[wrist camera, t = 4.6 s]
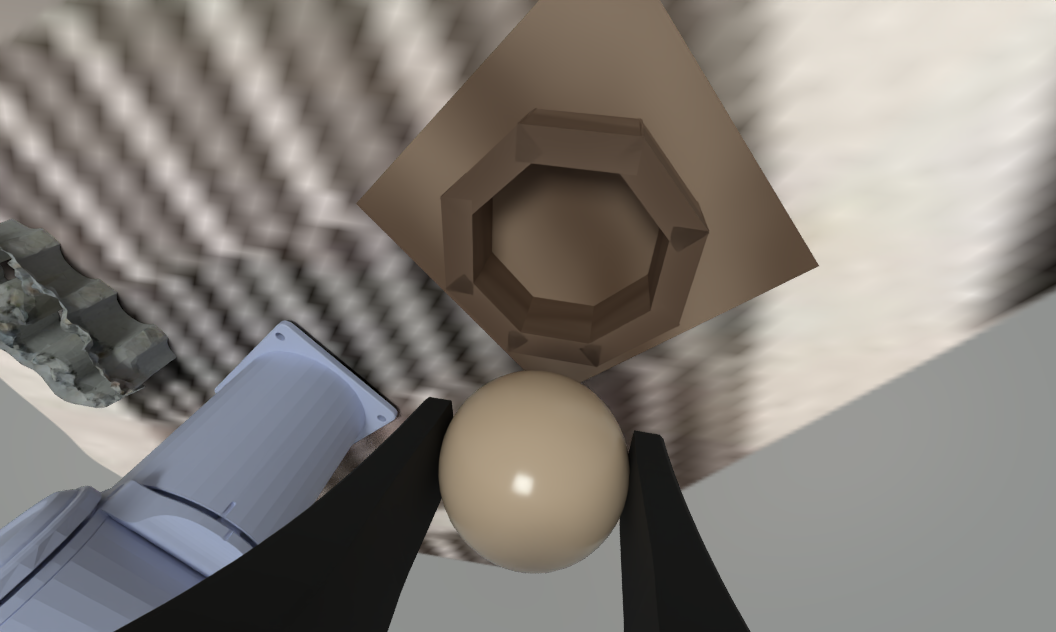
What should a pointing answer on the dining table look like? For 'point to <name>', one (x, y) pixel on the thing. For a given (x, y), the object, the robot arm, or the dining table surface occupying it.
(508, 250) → the egg stand
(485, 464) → the egg
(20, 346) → the egg carton
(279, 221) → the dining table surface
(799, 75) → the dining table surface
